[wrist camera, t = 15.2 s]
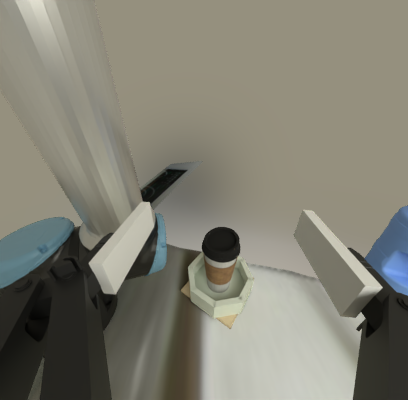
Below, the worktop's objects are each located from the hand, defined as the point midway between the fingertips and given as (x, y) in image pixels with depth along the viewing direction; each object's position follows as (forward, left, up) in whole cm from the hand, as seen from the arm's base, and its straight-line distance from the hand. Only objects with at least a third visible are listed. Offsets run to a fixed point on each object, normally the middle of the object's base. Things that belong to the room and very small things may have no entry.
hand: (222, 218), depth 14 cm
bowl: (-6, +13, -32) cm, 35 cm away
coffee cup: (-6, +13, -31) cm, 34 cm away
